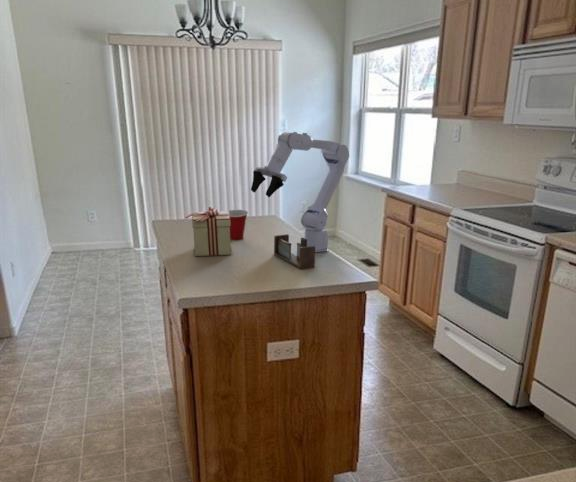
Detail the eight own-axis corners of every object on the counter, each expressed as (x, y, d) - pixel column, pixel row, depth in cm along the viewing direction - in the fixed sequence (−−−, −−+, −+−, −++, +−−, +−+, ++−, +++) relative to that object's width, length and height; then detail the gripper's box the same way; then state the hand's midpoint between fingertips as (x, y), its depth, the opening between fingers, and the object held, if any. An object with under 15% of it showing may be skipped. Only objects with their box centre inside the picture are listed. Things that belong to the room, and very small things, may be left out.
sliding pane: (298, 257, 208) (299, 235, 204) (310, 263, 200) (311, 241, 197) (296, 258, 207) (296, 236, 204) (308, 264, 200) (308, 241, 196)
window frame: (287, 253, 218) (287, 234, 215) (314, 267, 200) (315, 246, 197) (274, 255, 215) (274, 235, 212) (300, 269, 197) (301, 248, 194)
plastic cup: (219, 239, 237) (219, 212, 232) (231, 234, 246) (230, 208, 242) (241, 242, 233) (241, 215, 229) (252, 237, 242) (252, 210, 238)
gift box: (185, 247, 223) (183, 206, 217) (229, 246, 227) (228, 205, 221) (187, 258, 208) (185, 214, 201) (234, 256, 212) (233, 213, 205)
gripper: (257, 152, 198) (240, 183, 197) (286, 159, 190) (268, 192, 189) (267, 162, 204) (250, 193, 203) (295, 170, 196) (278, 202, 195)
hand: (260, 193), depth 196 cm, fingers open, 7 cm apart
